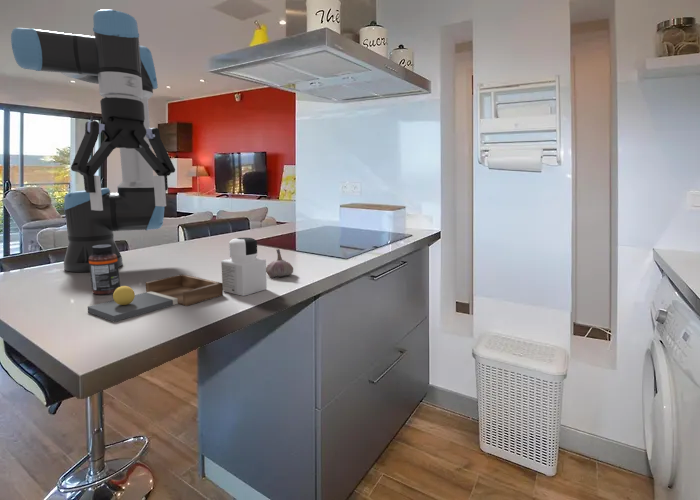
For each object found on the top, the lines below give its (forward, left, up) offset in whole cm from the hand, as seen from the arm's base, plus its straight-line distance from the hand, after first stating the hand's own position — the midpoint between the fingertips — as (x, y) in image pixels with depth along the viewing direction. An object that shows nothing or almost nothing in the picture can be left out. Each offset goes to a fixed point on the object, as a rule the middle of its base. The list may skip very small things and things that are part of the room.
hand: (131, 208), depth 86 cm
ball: (-1, -3, -18) cm, 18 cm away
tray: (0, +11, -21) cm, 24 cm away
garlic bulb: (+5, +38, -22) cm, 44 cm away
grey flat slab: (-1, -1, -21) cm, 21 cm away
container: (+8, +22, -22) cm, 32 cm away
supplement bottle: (-18, +2, -22) cm, 28 cm away
